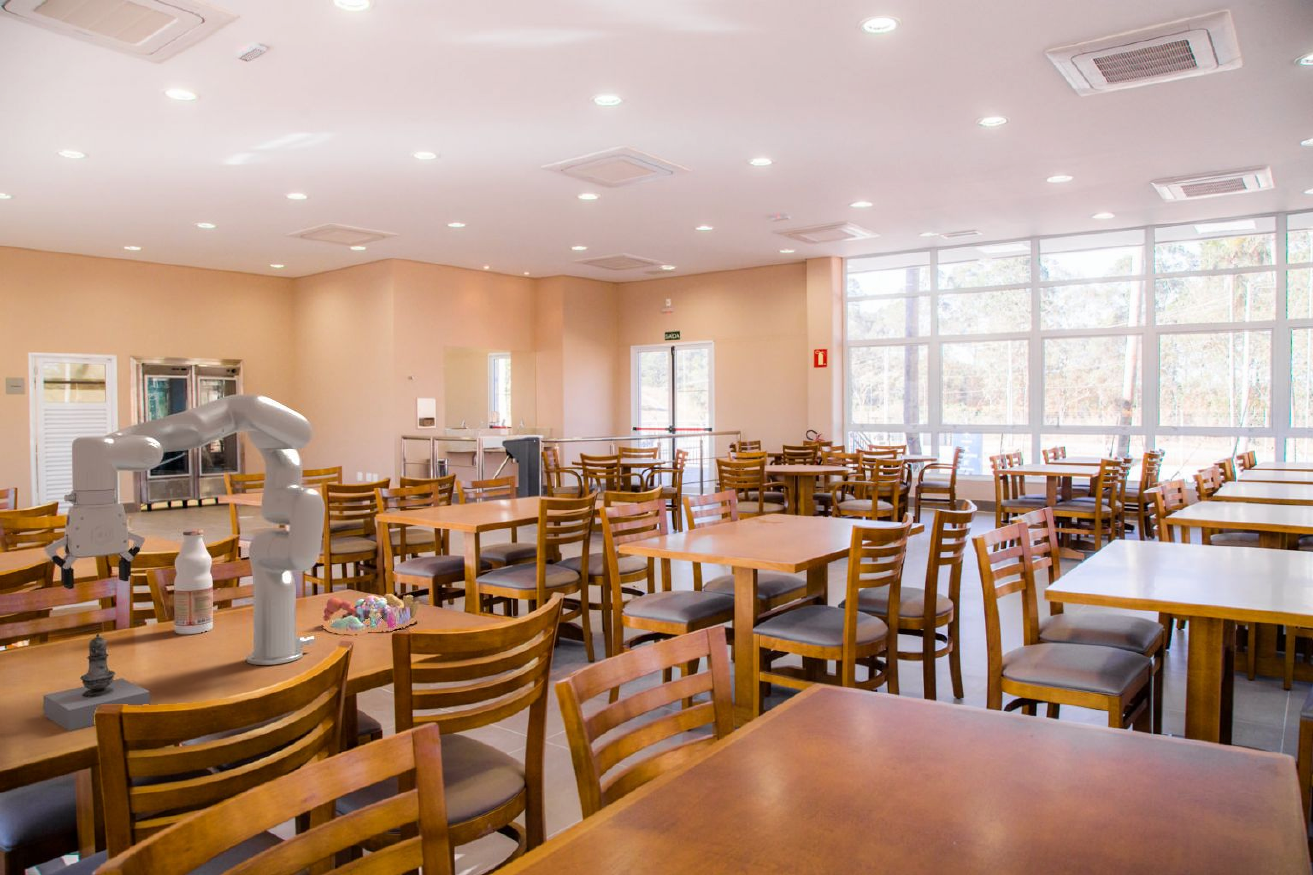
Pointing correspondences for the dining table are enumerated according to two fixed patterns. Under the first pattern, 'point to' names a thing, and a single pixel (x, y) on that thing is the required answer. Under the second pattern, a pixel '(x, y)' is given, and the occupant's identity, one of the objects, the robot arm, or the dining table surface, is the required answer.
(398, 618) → the candy landscape model
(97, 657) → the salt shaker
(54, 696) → the stand
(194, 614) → the fruit juice
